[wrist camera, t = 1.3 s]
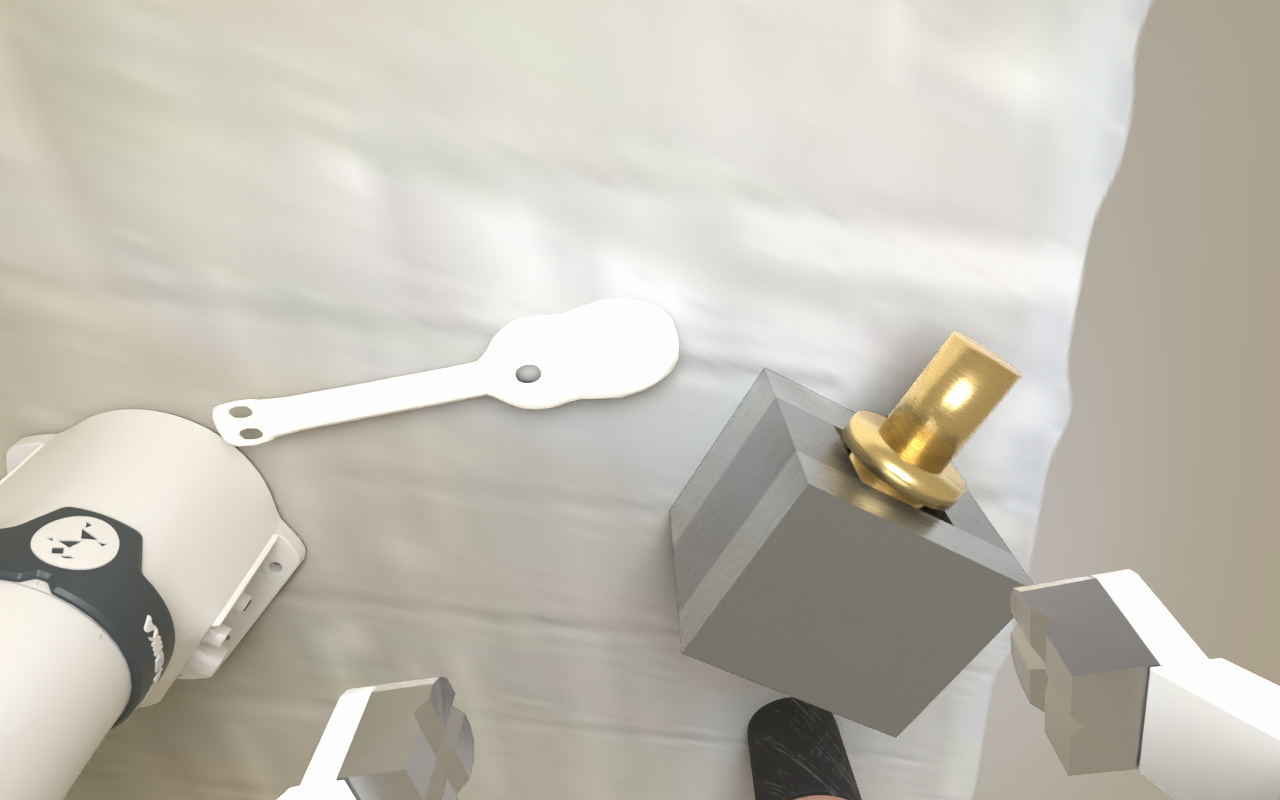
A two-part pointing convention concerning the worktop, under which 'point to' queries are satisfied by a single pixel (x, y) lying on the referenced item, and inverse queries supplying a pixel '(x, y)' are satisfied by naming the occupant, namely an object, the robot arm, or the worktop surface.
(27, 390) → the worktop surface
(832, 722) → the travel mug
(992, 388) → the brass collar peg
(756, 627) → the housing
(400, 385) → the spatula
